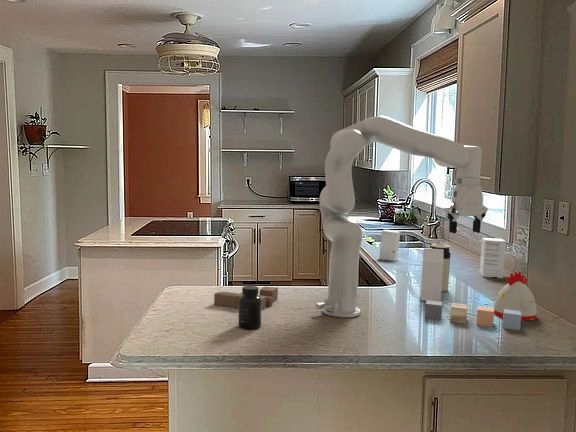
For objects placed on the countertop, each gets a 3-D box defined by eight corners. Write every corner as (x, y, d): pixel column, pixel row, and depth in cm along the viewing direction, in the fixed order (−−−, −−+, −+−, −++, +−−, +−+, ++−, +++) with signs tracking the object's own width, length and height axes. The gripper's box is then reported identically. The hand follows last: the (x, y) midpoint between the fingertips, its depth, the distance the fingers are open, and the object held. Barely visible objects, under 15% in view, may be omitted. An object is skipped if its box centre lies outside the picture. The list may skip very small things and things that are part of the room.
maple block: (466, 323, 185) (467, 308, 185) (449, 321, 187) (451, 306, 186) (466, 319, 190) (467, 304, 190) (450, 317, 192) (451, 303, 191)
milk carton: (440, 302, 211) (444, 251, 209) (420, 300, 212) (424, 249, 210) (439, 297, 218) (443, 248, 216) (420, 296, 219) (423, 246, 217)
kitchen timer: (484, 311, 202) (487, 268, 200) (515, 308, 207) (519, 267, 205) (512, 322, 189) (516, 277, 187) (545, 319, 194) (549, 275, 192)
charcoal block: (440, 320, 188) (441, 305, 187) (424, 318, 189) (425, 303, 189) (441, 316, 193) (442, 301, 192) (426, 314, 194) (427, 300, 194)
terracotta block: (492, 327, 183) (494, 311, 182) (476, 325, 184) (477, 309, 184) (492, 322, 187) (493, 307, 187) (476, 320, 189) (477, 306, 188)
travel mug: (427, 290, 229) (430, 245, 227) (427, 286, 236) (430, 243, 234) (448, 292, 227) (451, 247, 225) (447, 288, 234) (450, 244, 233)
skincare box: (379, 259, 294) (380, 230, 293) (382, 257, 300) (384, 229, 298) (395, 261, 290) (396, 232, 289) (398, 259, 296) (400, 230, 294)
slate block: (520, 330, 180) (521, 314, 180) (502, 328, 182) (504, 312, 181) (519, 326, 185) (520, 311, 184) (502, 324, 187) (503, 309, 186)
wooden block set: (263, 296, 189) (213, 290, 194) (263, 313, 189) (213, 306, 195) (280, 285, 205) (234, 280, 210) (280, 301, 205) (233, 295, 211)
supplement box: (503, 278, 258) (506, 241, 256) (482, 277, 260) (485, 240, 258) (499, 274, 268) (502, 238, 266) (478, 272, 269) (481, 237, 267)
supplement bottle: (249, 321, 178) (250, 283, 176) (265, 326, 173) (267, 287, 172) (233, 326, 172) (234, 287, 171) (250, 331, 168) (251, 291, 167)
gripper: (453, 182, 190) (450, 234, 192) (496, 183, 196) (492, 233, 198) (439, 181, 197) (436, 231, 199) (481, 182, 203) (478, 230, 205)
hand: (464, 232), depth 199 cm, fingers open, 9 cm apart
